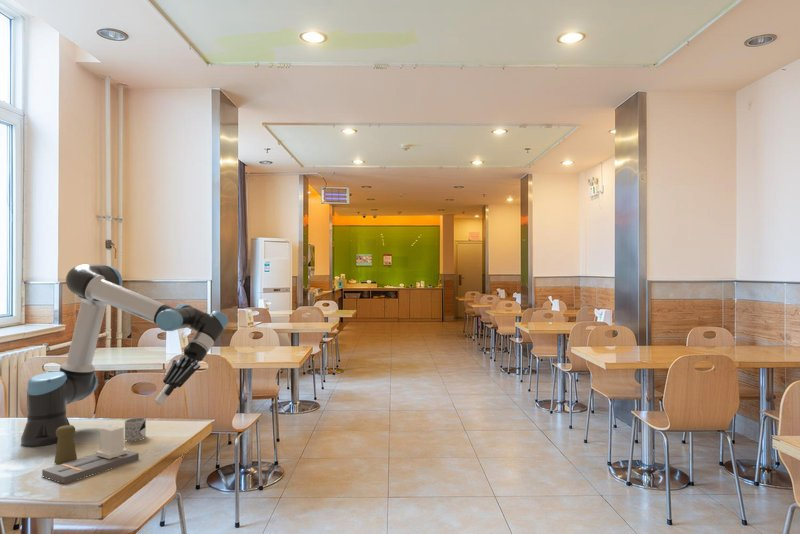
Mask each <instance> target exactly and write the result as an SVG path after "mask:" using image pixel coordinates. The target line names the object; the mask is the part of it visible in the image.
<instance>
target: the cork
mask: <svg viewBox="0 0 800 534" xmlns="http://www.w3.org/2000/svg"><path fill="white" fill-rule="evenodd" d="M75 433H76V427H75V426H74V425H71V424H70V425H65V426H61V427H59V428H58V429H57V430H56V436H57V437H58V441H57V443H56V448H55V456H54V463H53V464H55V463H56V464H55V465H60V464H63V463H67V462H70V461H73V460H77V459H78V457H77V451H76V442H75V437H74V435H75Z"/></svg>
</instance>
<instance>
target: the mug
mask: <svg viewBox="0 0 800 534" xmlns="http://www.w3.org/2000/svg"><path fill="white" fill-rule="evenodd" d="M146 425H147V421H146V418H145V417H134V418H133V417H132V418H128V419H126V420H125V421H124V441H125V440H127V441H126V442H136V441H135V440H138V441H141V440H140V439H142V440H144V439H145V437H146V438H147V436H146V435H147V434H146V431H147V429H146V428H147V427H146ZM143 438H144V439H143Z"/></svg>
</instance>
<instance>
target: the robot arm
mask: <svg viewBox="0 0 800 534" xmlns="http://www.w3.org/2000/svg"><path fill="white" fill-rule="evenodd" d="M65 284H66V286H67V289H68V290H69V291H70V292H72V293H73V294H75V295H76V296H77V298H78V299H79V301H80V305H79V310H78V313H77V317H76V321H75V325H74V329H73V334H72V338H71V342H70V346H69V350H68V353H67V359H66V361H65V362H64V363H62V364H61V365H60V366H59V367H60V368H59V370H58V371H48V372H45V373H39V374H37V375H33V376H32V377H31V378H30V379H29V380H28V381H27V387H26V405H27V406H26V410H27V411H26V412H27V413H26V416H27V418H26V419H27V420H26V423H25V426H24V428H23V432H22V434H21V438H20V445H22V446H25V447H38V446H39V447H40V446H45V445H47V446H48V445H52V444H57V441H58V437H57V436H56V430H57V429H58V428H59V427H61V426H65V425H71V424H70V421H69V419H68V417H67V405H69V404H72V403H75V402H79V401H82V400H84V399H86V398H88V397H90V396H91V395H92V394H94V392H95V390H96V389H97V388H98V381H99V379H98V376H97V373H96V372H95V370H96V367H95V366H94V365H93V360H94V357H95V351H96V348H97V344H98V341H99V336H100V334H101V333H100V332H101V330H102V329H101V328H102V324H103V321H104V315H105V312H106V309H107V305H109V306H112V307H114V308H116V309H119V310H121V311H124V312H125V313H128V314H131V315H133V316H135V317H138V318H141V319H143V320H146V321H148V322H150V323H153V324H155V325H156V326H157V327H158V328H159V329H160V330H162V331H164V332H174V331H176V330H177V331H178V330H180V329H186V328H189V329H191V330H194V331H196V333H195V334H194V335H193V337H192V338H191V340H190V341H189V342H188V343H187V345H186V346H185V348H184V349H183V352H184V354H183V355H181V356H180V358H179V359H178V360H176V359H174V360H172V363H171V366H170V368H169V370H168V371H167V372H166V375H165V377H164V378H163V381H162V382H163V383H164V386H163V387H162V388H161V390H160V391H159V393H158V395H157V396H156V397H155V398H154V402H156V403H157V405H161V406H162V405H163V404H165V402H166V400H167V399H168V398H169V396H170V395H171V394H172V392H173V391H174V390H175V389H177V388H181V387H182V386H183V385H184V384H185V383H186V382H187V381H188V380H189V379H190V377H191V376H192V375H193V374H194V373H195V372H196V371H198V370H199V369H201V365H200V364H199V362H202V361H203V360H204V358H205V357H206V355H207V354H208V353H209V351H210V350H211V349H212V347H213V346H214V344H215V343H216V342H217V340H218V339H219V338H220V336H221V335H222V333H223V332H224V331H225V329H226V327H227V326H228V325H229V318H228V317H227V315H226V314H225V313H223V312H222V311H219V310H214V311H212V312H210V314H209V313H206V312H204V311H202V310H200V309H197V308H196V307H194V306H192V305H189V304H186V303H179V304H178V305H177V306H175V307H173V306H169V305H167V304H165V303H162V302H160V301H158V300H155V299H153V298H151V297H148V296H145V295H143V294H141V293H138V292H135V291H133V290H130V289H128V288H126V287H124V286H123V277H122V275H121V273H120V272H119V270H118V269H117V268H115V267H113V266H111V265H108V264H89V263H86V264H85V263H83V264H82V263H81V264H78V265H76V266H73V267H72V268H71V269H70V270H69V271H68V272H67V274H66V277H65Z"/></svg>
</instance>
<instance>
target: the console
mask: <svg viewBox="0 0 800 534" xmlns="http://www.w3.org/2000/svg"><path fill="white" fill-rule="evenodd" d="M139 454H140V453H139V452H134V451H130V450H128V453H127V454H123V455H120V456H117V457H114V458H111V459H107V458H103V457H100V456H96V453H94V454H90V455H86V456H84V457H80V458H77V460H73V461H70V462H67V463H63V464H56V465H54V466H51V467H47V468H44V469H42V470H41V472H42V473H41V474H42V475H41V477H42V476H44V477H43V478H45V477H47V478H46V479H48V478H50V479H49V480H51V479H53V480H56V481H59V482H61V483H60V484H62V483H64V484H63V485H66V484H65V483H67V484H69V482H70V483H73V482H75V481H74V480H76V481H78V480H77V479H79V480H81V479H80V478H82V479H85V478H87V477H86V476H88V477H90V476H89V475H91V476H93V475H92V474H94V475H96V474H95V473H97V474H99V473H98V472H100V473H103V472H105V470H106V471H109V470H111V468H112V469H115V468H118V467H121V466H124V465H127V464H130V463H133V462H137V461H139V459H140V458H139ZM114 467H115V468H114ZM108 469H109V470H108ZM102 471H103V472H102ZM84 477H85V478H84ZM53 480H52V481H53ZM56 481H55V482H56ZM72 481H73V482H72ZM59 482H58V483H59Z"/></svg>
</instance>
